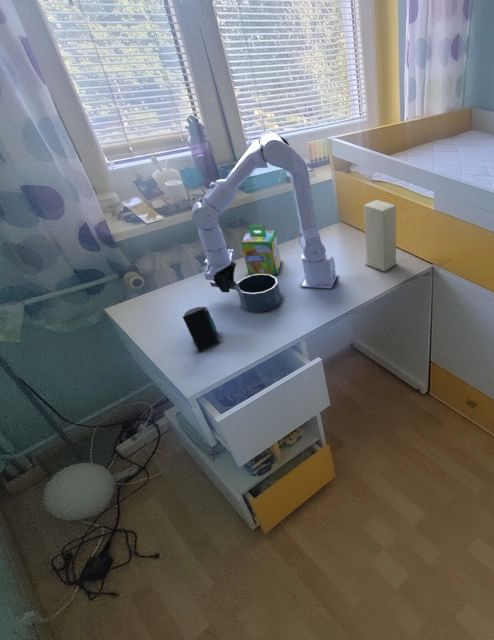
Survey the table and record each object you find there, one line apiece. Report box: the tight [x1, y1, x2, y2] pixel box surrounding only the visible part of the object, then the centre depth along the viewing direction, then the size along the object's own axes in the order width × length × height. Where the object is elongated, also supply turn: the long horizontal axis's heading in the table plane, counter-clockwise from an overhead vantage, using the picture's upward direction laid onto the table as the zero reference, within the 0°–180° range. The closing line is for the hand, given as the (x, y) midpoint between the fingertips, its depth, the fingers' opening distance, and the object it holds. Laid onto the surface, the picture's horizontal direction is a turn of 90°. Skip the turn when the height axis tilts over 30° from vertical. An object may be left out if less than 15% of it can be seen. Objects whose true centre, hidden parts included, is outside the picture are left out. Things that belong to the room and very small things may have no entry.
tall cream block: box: [363, 199, 397, 272], centre depth 141 cm, size 8×7×21 cm
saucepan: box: [209, 274, 282, 313], centre depth 125 cm, size 20×11×6 cm, turn 80°
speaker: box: [182, 306, 220, 353], centre depth 109 cm, size 8×6×10 cm
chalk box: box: [240, 224, 282, 276], centre depth 137 cm, size 9×9×15 cm
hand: (227, 288), depth 126 cm, fingers closed on saucepan, 2 cm apart
